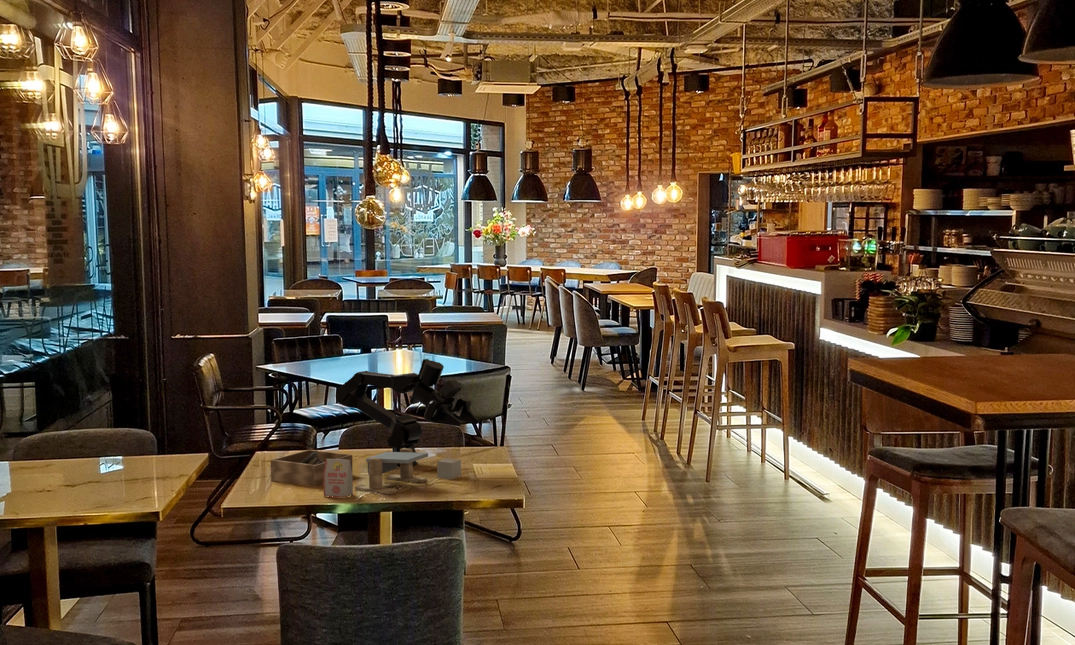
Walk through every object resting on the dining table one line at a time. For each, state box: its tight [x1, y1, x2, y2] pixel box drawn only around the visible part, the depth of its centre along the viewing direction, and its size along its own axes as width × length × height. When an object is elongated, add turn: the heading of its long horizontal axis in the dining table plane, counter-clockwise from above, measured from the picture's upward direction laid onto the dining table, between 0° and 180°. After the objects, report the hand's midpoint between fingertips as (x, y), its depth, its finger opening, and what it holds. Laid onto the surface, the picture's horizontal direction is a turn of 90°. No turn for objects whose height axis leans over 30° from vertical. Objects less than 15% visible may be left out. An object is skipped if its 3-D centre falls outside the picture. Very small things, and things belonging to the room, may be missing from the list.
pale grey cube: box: [436, 457, 462, 480], centre depth 273 cm, size 5×5×5 cm
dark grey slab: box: [365, 451, 429, 475], centre depth 261 cm, size 14×10×5 cm
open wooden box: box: [270, 449, 354, 488], centre depth 272 cm, size 16×16×6 cm
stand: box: [354, 448, 428, 495], centre depth 262 cm, size 12×18×9 cm
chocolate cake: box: [299, 449, 324, 465], centre depth 273 cm, size 10×7×12 cm
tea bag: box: [323, 459, 354, 498], centre depth 251 cm, size 4×7×10 cm, turn 79°
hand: (469, 423), depth 274 cm, fingers open, 9 cm apart
